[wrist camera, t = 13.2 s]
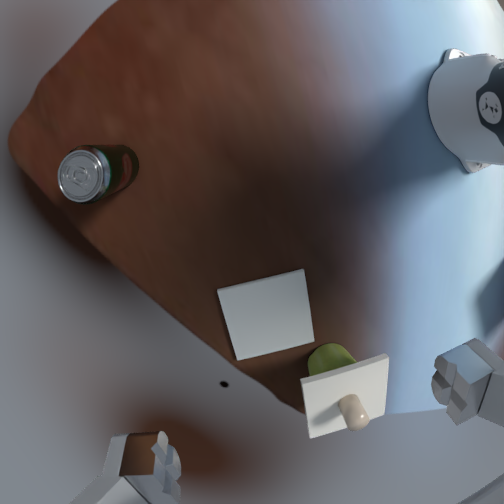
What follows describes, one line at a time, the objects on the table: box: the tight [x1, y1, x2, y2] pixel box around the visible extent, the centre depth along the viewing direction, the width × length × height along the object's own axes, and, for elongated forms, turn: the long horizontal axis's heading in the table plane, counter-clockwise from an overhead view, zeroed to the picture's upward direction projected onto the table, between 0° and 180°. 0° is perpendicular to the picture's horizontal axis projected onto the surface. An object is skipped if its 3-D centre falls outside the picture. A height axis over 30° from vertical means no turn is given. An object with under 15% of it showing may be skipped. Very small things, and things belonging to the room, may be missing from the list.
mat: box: [217, 269, 314, 360], centre depth 42 cm, size 11×11×1 cm
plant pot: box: [308, 343, 357, 376], centre depth 42 cm, size 9×9×9 cm
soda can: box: [58, 145, 139, 204], centre depth 29 cm, size 5×5×12 cm
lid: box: [300, 353, 389, 438], centre depth 35 cm, size 11×11×5 cm
